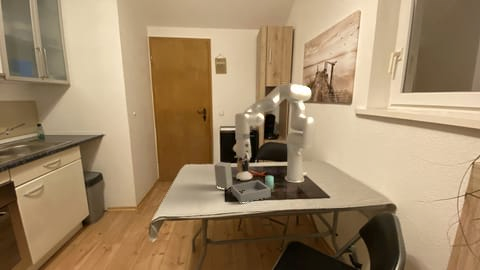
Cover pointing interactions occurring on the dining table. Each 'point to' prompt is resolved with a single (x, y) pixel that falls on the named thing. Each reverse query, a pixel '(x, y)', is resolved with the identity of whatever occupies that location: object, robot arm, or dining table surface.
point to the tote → (251, 191)
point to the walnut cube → (239, 166)
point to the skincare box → (223, 175)
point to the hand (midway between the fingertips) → (243, 169)
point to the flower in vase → (242, 174)
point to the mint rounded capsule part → (269, 181)
